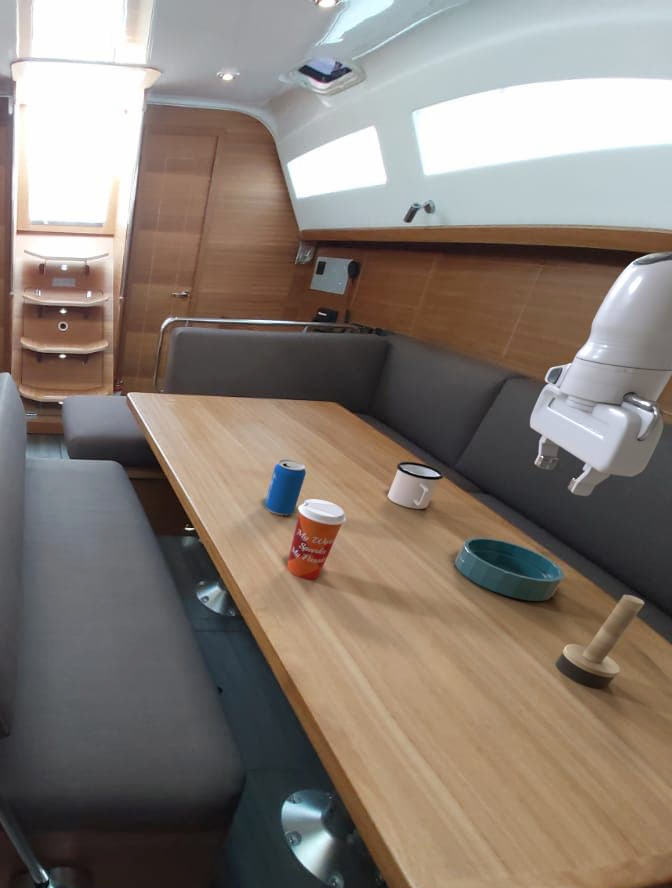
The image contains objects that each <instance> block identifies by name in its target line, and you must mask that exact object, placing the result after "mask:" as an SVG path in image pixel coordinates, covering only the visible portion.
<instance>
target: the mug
mask: <svg viewBox="0 0 672 888" xmlns="http://www.w3.org/2000/svg"><path fill="white" fill-rule="evenodd" d="M396 469H397V471H396V473H395V476H394V478H393V481H392V484H391V486H390V488H389V492H388V494H387V498H388V499H389V500H390V501H391V502H392V503H394V504H396V505H399V506H401V507H404V508H408V509H412V510H422V509H426V508H427V507H428V506H429V504H430V502H431V498H432V497H433V495H434V492H435V489H436V487H437V485H438V482H439V480H442V479H444V476H445V475H444V472H443V471H441V470H440V469H438V468H436V467H434V466H431V465H428V464H425V463H422V462H421V463H420V462H414V461H399V462H397V464H396Z"/></svg>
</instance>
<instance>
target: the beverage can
mask: <svg viewBox="0 0 672 888" xmlns="http://www.w3.org/2000/svg"><path fill="white" fill-rule="evenodd" d="M306 474H307V471H306V465H305V464H303V463H301V462H300V461H297V460H292V459H281V460H278V462H277V464H275V465H274V468H273V472H272V476H271V480H270V483H269V486H268V490H267V494H266V498H265V502H264V506H265V508H266V509H267V511H269V512H270V513H272V514H273V515H277V516H283V515H285V516H289V515H292V514H294V512H295V510H296V507H297V504H298V500H299V497H300V493H301V490H302V487H303V484H304V480H305V477H306Z"/></svg>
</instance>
